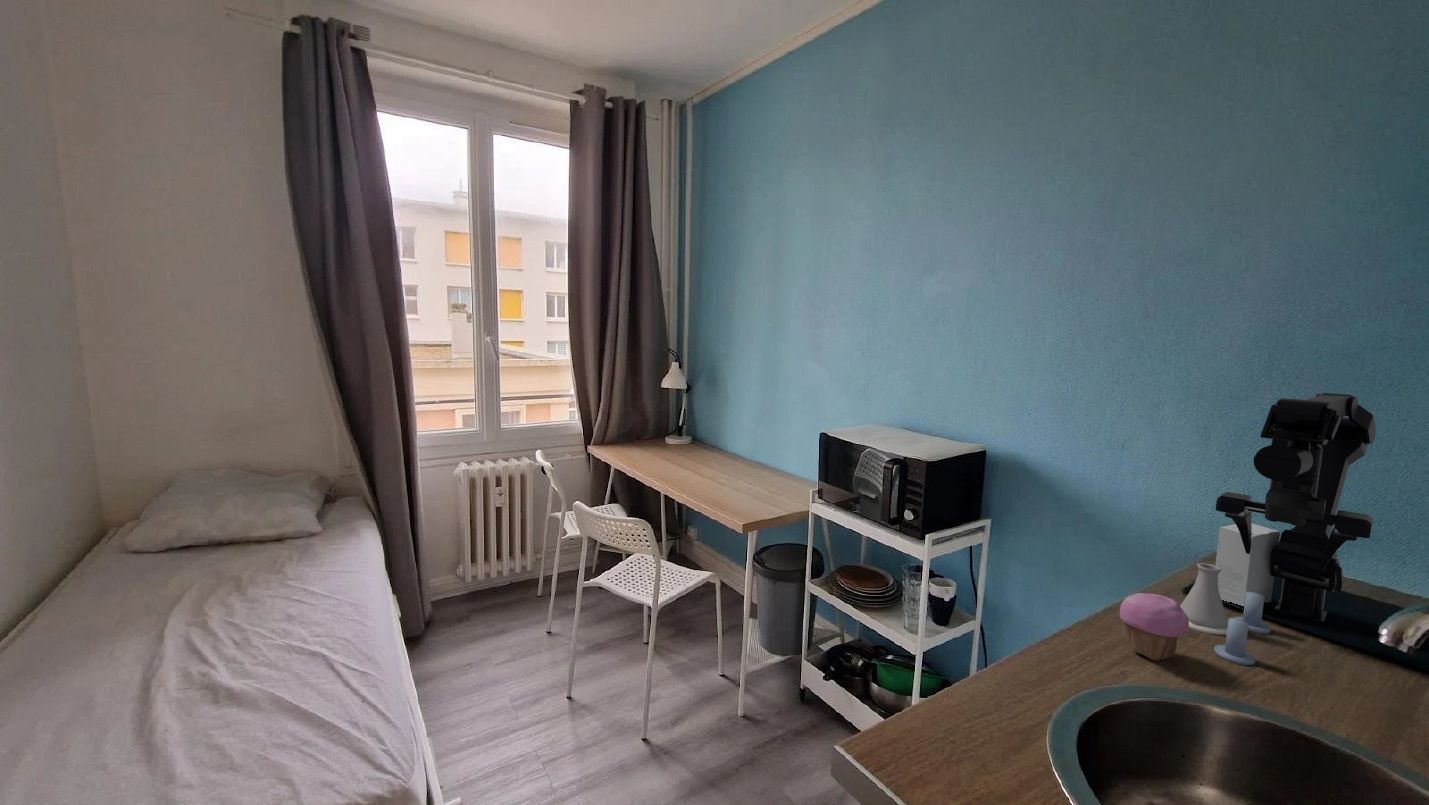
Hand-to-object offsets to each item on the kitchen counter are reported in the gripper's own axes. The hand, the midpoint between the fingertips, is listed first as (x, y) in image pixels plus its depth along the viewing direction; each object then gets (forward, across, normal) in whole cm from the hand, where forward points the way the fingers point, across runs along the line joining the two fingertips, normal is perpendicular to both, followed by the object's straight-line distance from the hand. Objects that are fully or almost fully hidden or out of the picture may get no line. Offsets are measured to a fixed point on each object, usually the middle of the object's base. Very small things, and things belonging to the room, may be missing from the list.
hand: (1283, 561), depth 101 cm
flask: (+13, -9, -5) cm, 16 cm away
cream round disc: (+13, -9, -6) cm, 17 cm away
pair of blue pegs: (+13, -3, -8) cm, 16 cm away
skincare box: (+13, -6, +12) cm, 19 cm away
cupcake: (+13, -12, -26) cm, 32 cm away
